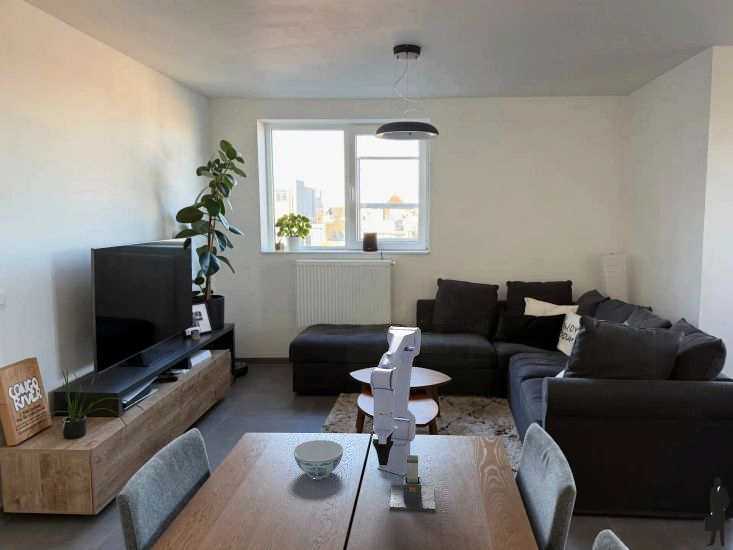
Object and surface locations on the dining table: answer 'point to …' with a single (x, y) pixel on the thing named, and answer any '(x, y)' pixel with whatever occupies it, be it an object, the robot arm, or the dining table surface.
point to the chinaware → (318, 457)
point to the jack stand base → (412, 497)
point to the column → (412, 469)
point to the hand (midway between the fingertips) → (384, 458)
